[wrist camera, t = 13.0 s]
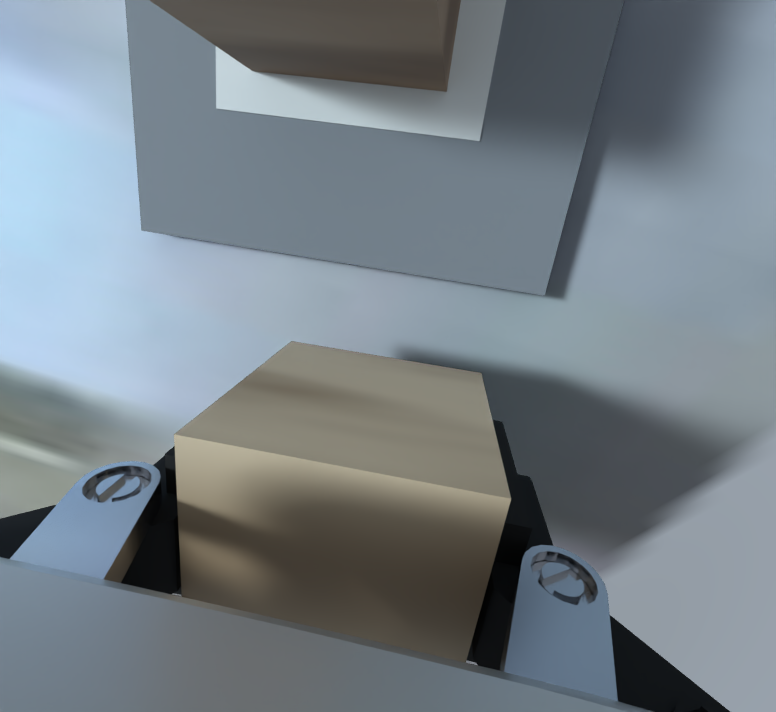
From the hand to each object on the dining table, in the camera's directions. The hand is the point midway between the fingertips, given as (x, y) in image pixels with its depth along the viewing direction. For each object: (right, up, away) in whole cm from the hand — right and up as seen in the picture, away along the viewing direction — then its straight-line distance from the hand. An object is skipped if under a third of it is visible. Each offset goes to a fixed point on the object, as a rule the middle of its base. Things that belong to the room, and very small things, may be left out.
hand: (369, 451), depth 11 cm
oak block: (0, 0, +1) cm, 1 cm away
